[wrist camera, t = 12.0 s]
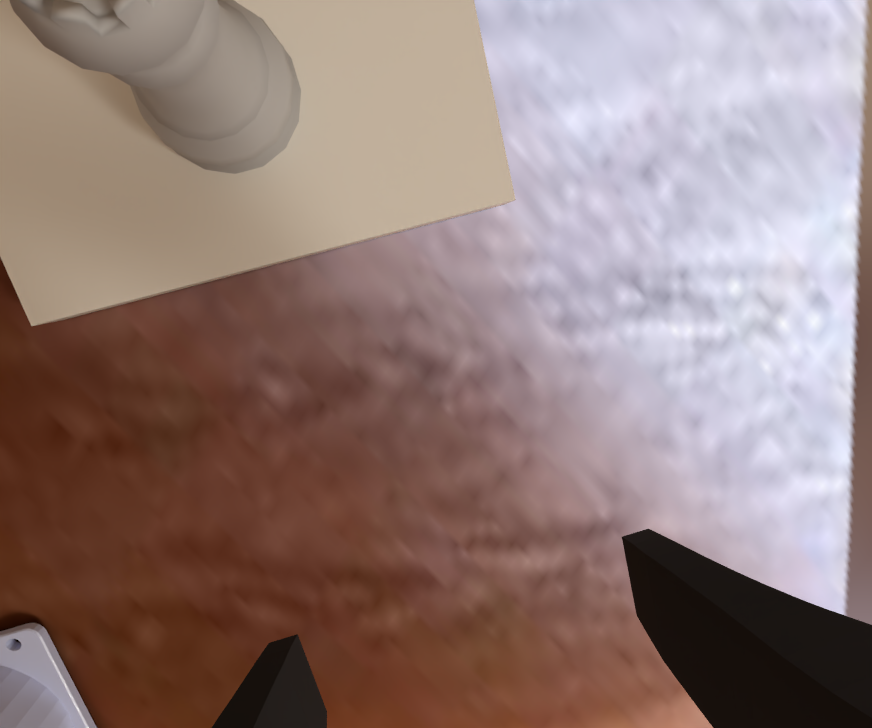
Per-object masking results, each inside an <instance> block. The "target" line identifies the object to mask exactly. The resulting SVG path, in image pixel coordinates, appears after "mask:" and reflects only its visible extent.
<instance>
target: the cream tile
mask: <svg viewBox="0 0 872 728" xmlns="http://www.w3.org/2000/svg"><path fill="white" fill-rule="evenodd" d="M234 1H236V2H237V3H239V4H240V5H242V6H243V7H245V8H246V9H248V10H249V11H251V12H253V13H254V14H256V15H257V16H259V17H260V18H262V19H263V20H264V21H265V23H266V24H267V25H268V27H269V28H270V30H271V31H272V32H273V34H274V35H275V36H276V38H277V39H278V40H279V42H280V43H281V44H282V46H283V47H284V49H285V50H286V52H287V53H288V54H289V56H290V57H291V58H292V62H293V65H294V68H295V72H296V75H297V78H298V82H299V85H300V88H301V99H300V113H299V122H298V124H297V126H296V128H295V130H294V132H293V134H292V136H291V138H290V140H289V142H288V144H287V146H286V148H285V149H284V150H283V151H282V152H280V153H279V154H278V155H277V156H276V157H274V158H273V159H272V160H271V161H269V162H268V163H267V164H266V165H265V166H263V167H260V168H256V169H252V170H248V171H244V172H241V173H237V174H232V173H225V172H218V171H211V170H205V169H203V168H201V167H199V166H198V165H196V164H194V163H192V162H191V161H189V160H187V159H185V158H184V157H182V156H180V155H178V154H177V153H176V152H175V151H174V150H173V149H172V148H170V147H168V146H166V145H165V144H164V142H163V141H162V140H161V139H160V138H159V137H158V135H157V134H156V133H155V132H154V131H153V129H152V128H151V127H150V126H149V125H148V124H147V122H146V121H145V120H144V119H143V117H142V115H141V113H140V111H139V108H138V106H137V103H136V100H135V98H134V95H133V92H132V90H131V87H130V85H128V84H126V83H124V82H123V81H121V80H119V79H118V78H116V77H114V76H113V75H111V74H109V73H105V72H99V71H93V70H87V69H82V68H80V67H79V66H77V65H75V64H73V63H72V62H70V61H68V60H67V59H65V58H63V57H61V56H60V55H58V54H56V53H55V52H53V51H51V50H49V49H48V48H46V47H44V46H43V45H42V43H41V42H40V41H39V40H38V39H37V38H36V36H35V35H34V34H33V33H32V32H31V31H30V30H29V28H28V27H27V26H26V25H25V24H24V23H23V21H22V20H21V19H20V18H19V17H18V16H17V15H16V13H15V12H14V11H13V8H12V6H11V4H10V1H9V0H0V257H1V260H2V262H3V264H4V266H5V268H6V271H7V273H8V275H9V277H10V280H11V282H12V284H13V286H14V288H15V291H16V293H17V295H18V297H19V300H20V302H21V304H22V306H23V308H24V311H25V313H26V315H27V317H28V320H29V322H30V324H31V326H35V325H41V324H46V323H51V322H56V321H61V320H65V319H69V318H72V317H76V316H80V315H84V314H88V313H92V312H95V311H99V310H103V309H107V308H111V307H115V306H118V305H122V304H126V303H130V302H134V301H138V300H141V299H145V298H149V297H153V296H157V295H160V294H164V293H168V292H172V291H176V290H180V289H183V288H187V287H191V286H195V285H199V284H203V283H206V282H210V281H214V280H218V279H222V278H226V277H229V276H233V275H237V274H241V273H245V272H249V271H252V270H256V269H260V268H264V267H268V266H271V265H275V264H279V263H283V262H287V261H291V260H294V259H298V258H302V257H306V256H310V255H314V254H317V253H321V252H325V251H329V250H333V249H337V248H340V247H344V246H348V245H352V244H356V243H360V242H363V241H367V240H371V239H375V238H379V237H382V236H386V235H390V234H394V233H398V232H402V231H405V230H409V229H413V228H417V227H421V226H425V225H428V224H432V223H436V222H440V221H444V220H448V219H451V218H455V217H459V216H463V215H467V214H471V213H474V212H478V211H482V210H486V209H490V208H494V207H497V206H501V205H505V204H507V203H509V202H512V201H514V200H515V196H514V191H513V186H512V181H511V176H510V172H509V167H508V162H507V157H506V153H505V148H504V143H503V138H502V133H501V129H500V124H499V119H498V114H497V109H496V105H495V100H494V95H493V90H492V85H491V81H490V76H489V71H488V66H487V62H486V57H485V52H484V47H483V42H482V38H481V33H480V28H479V23H478V18H477V14H476V9H475V4H474V0H234Z"/></svg>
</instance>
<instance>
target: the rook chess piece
mask: <svg viewBox="0 0 872 728" xmlns="http://www.w3.org/2000/svg"><path fill="white" fill-rule="evenodd" d="M9 1H10V4H11V6H12V8H13V11H14V12H15V13H16V15H17V16H18V17H19V18H20V19H21V20H22V21H23V23H24V24H25V25H26V26H27V27H28V28H29V30H30V31H31V32H32V33H33V34H34V35H35V36H36V38H37V39H38V40H39V41H40V42H41V43H42V45H43V46H44V47H46V48H48V49H49V50H51V51H53V52H55V53H56V54H58V55H60V56H61V57H63V58H65V59H67V60H68V61H70V62H72V63H73V64H75V65H77V66H79V67H80V68H82V69H87V70H93V71H99V72H105V73H109V74H111V75H113V76H114V77H116V78H118V79H119V80H121V81H123V82H124V83H126V84H128V85H130V87H131V90H132V92H133V95H134V98H135V100H136V103H137V106H138V108H139V111H140V113H141V115H142V117H143V119H144V120H145V121H146V122H147V124H148V125H149V126H150V127H151V128H152V129H153V131H154V132H155V133H156V134H157V135H158V137H159V138H160V139H161V140H162V141H163V142H164V144H165V145H166V146H168V147H170V148H172V149H173V150H174V151H175V152H176V153H177V154H178V155H180V156H182V157H184V158H185V159H187V160H189V161H191V162H192V163H194V164H196V165H198V166H199V167H201V168H203V169H205V170H211V171H218V172H225V173H232V174H237V173H241V172H244V171H248V170H252V169H256V168H260V167H263V166H265V165H266V164H267V163H268V162H269V161H271V160H272V159H273V158H274V157H276V156H277V155H278V154H279V153H280V152H282V151H283V150H284V149H285V148H286V146H287V144H288V142H289V140H290V138H291V136H292V134H293V132H294V130H295V128H296V126H297V124H298V122H299V113H300V99H301V88H300V85H299V82H298V78H297V75H296V72H295V68H294V65H293V62H292V58H291V57H290V56H289V54H288V53H287V52H286V50H285V49H284V47H283V46H282V44H281V43H280V42H279V40H278V39H277V38H276V36H275V35H274V34H273V32H272V31H271V30H270V28H269V27H268V25H267V24H266V23H265V21H264V20H263V19H262V18H260V17H259V16H257V15H256V14H254V13H253V12H251V11H249V10H248V9H246V8H245V7H243V6H242V5H240V4H239V3H237V2H236V1H234V0H9Z"/></svg>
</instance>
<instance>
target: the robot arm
mask: <svg viewBox="0 0 872 728" xmlns="http://www.w3.org/2000/svg"><path fill="white" fill-rule="evenodd" d="M622 540H623V545H624V550H625V556H626V561H627V566H628V571H629V577H630V582H631V587H632V593H633V598H634V603H635V608H636V614H637V617H638V618H639V620H640V622H641V623H642V625H643V627H644V629H645V630H646V632H647V634H648V636H649V637H650V639H651V641H652V642H653V644H654V646H655V647H656V649H657V651H658V652H659V654H660V656H661V657H662V659H663V661H664V662H665V663H666V665H667V666H668V668H669V669H670V670H671V672H672V673H673V674H674V676H675V677H676V678H677V680H678V681H679V682H680V684H681V685H682V686H683V688H684V689H685V690H686V692H687V693H688V695H689V696H690V697H691V699H692V700H693V701H694V703H695V704H696V705H697V707H698V708H699V709H700V711H701V712H702V713H703V715H704V716H705V717H706V719H707V720H708V721H709V723H710V724H711V725H712V727H713V728H872V625H870V624H867V623H864V622H862V621H858V620H855V619H853V618H850V617H847V616H844V615H841V614H839V613H836V612H833V611H830V610H827V609H824V608H822V607H819V606H816V605H814V604H811V603H808V602H806V601H803V600H801V599H798V598H796V597H793V596H791V595H789V594H786V593H784V592H781V591H779V590H777V589H774V588H772V587H769V586H767V585H765V584H762V583H760V582H758V581H756V580H753V579H751V578H749V577H747V576H744V575H742V574H740V573H738V572H736V571H734V570H731V569H729V568H727V567H725V566H723V565H721V564H719V563H717V562H715V561H713V560H711V559H708V558H706V557H704V556H702V555H700V554H698V553H696V552H694V551H692V550H690V549H688V548H686V547H684V546H682V545H680V544H678V543H676V542H674V541H672V540H670V539H668V538H666V537H664V536H662V535H660V534H658V533H656V532H654V531H652V530H650V529H646V530H643V531H640V532H636V533H633V534H630V535H626V536H623V537H622ZM14 639H17V640H19V641H20V642H21V643H19V642H16V641H15V640H14ZM0 728H97V727H96V725H95V723H94V721H93V720H92V718H91V716H90V714H89V712H88V710H87V708H86V706H85V704H84V702H83V700H82V698H81V696H80V694H79V692H78V691H77V689H76V687H75V685H74V683H73V681H72V679H71V677H70V675H69V673H68V671H67V669H66V667H65V665H64V663H63V662H62V660H61V658H60V656H59V654H58V652H57V650H56V648H55V646H54V644H53V642H52V640H51V638H50V636H49V635H48V633H47V631H46V629H45V628H44V627H43V626H42V625H40V624H37V623H27V624H24V625H21V626H17V627H14V628H10V629H7V630H3V631H0ZM212 728H327V711H326V708H325V706H324V703H323V700H322V698H321V695H320V692H319V690H318V687H317V684H316V682H315V679H314V677H313V674H312V671H311V669H310V666H309V663H308V661H307V658H306V656H305V653H304V650H303V648H302V645H301V642H300V640H299V637H298V634H297V635H294V636H291V637H287V638H284V639H281V640H277V641H274V642H271V643H269V644H268V645H267V647H266V648H265V650H264V651H263V652H262V654H261V655H260V657H259V658H258V660H257V661H256V663H255V664H254V666H253V667H252V669H251V670H250V672H249V673H248V675H247V676H246V678H245V679H244V681H243V682H242V684H241V685H240V687H239V688H238V690H237V691H236V693H235V694H234V696H233V697H232V699H231V700H230V702H229V703H228V705H227V706H226V707H225V709H224V710H223V712H222V713H221V715H220V716H219V718H218V719H217V721H216V722H215V724H214V725H213V726H212Z"/></svg>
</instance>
